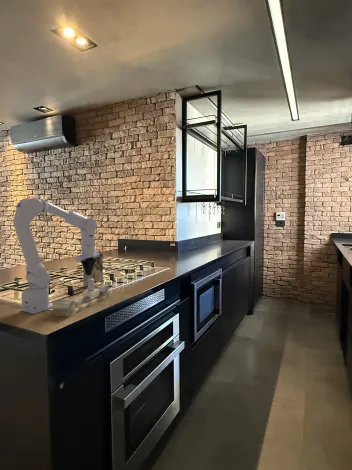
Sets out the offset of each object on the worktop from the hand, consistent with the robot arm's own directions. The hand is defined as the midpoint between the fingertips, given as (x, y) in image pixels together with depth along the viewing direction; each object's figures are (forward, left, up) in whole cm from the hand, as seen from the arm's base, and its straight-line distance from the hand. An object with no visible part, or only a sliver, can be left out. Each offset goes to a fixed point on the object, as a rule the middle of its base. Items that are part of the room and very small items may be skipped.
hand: (88, 274), depth 133 cm
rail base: (-9, -6, -10) cm, 15 cm away
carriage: (-4, -5, -9) cm, 11 cm away
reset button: (+2, -3, -8) cm, 9 cm away
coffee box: (+17, +14, -11) cm, 24 cm away
